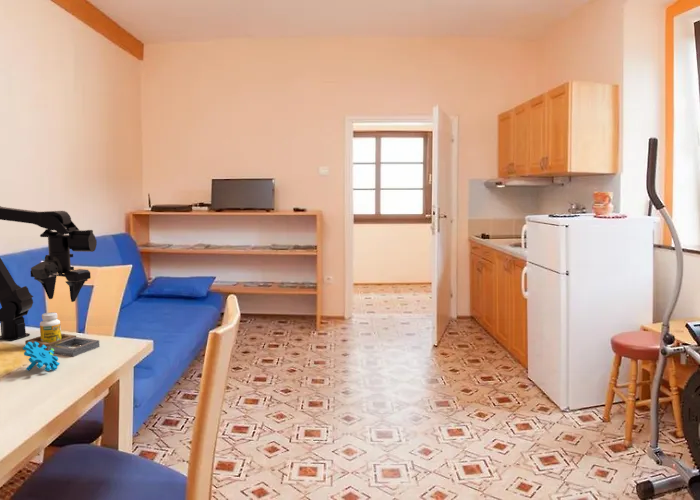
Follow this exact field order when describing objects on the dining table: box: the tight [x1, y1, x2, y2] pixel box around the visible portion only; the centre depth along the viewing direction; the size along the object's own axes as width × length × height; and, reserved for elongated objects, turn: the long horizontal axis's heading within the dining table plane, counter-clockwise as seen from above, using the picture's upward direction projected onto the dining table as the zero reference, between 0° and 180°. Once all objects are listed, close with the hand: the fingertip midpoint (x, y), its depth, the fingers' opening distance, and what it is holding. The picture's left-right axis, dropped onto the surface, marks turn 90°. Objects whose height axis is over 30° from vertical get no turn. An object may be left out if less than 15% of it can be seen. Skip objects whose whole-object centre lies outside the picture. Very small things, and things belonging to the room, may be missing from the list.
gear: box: [22, 342, 60, 372], centre depth 130 cm, size 11×6×10 cm
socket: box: [48, 336, 100, 358], centre depth 146 cm, size 9×9×2 cm
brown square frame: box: [24, 333, 77, 351], centre depth 150 cm, size 9×9×2 cm
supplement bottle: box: [39, 312, 62, 343], centre depth 150 cm, size 5×5×10 cm
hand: (61, 300), depth 156 cm, fingers open, 9 cm apart
